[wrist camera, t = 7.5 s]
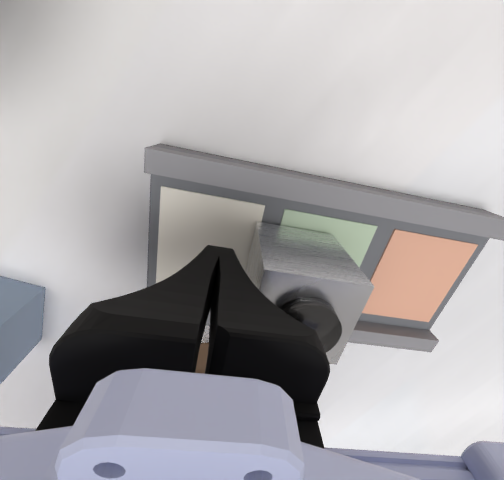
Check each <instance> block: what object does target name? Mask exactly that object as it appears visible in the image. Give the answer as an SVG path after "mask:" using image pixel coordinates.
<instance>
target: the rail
mask: <svg viewBox="0 0 504 480" xmlns="http://www.w3.org/2000/svg"><path fill="white" fill-rule="evenodd" d="M144 173H149V174H151V184H150V213H149V242H148V271H147V287H149V286H152V285H154V284H156V283H158V282H160V281H163V280H165V279H167V278H168V277H170V276H172V275H173V274H175V273H176V272H178V271H179V270H180V269H182V268H183V267H184V266H186V265H187V264H188V263H190V262H191V261H192V260H193V259H194V258H195V257H196V256H197V255H198V254H199V253H200V252H201V251H202V250H203V249H204V248H205V247H206V246H207V245H212V246H219V247H225V248H231V249H233V250H234V251H235V254H236V256H237V258H238V260H239V262H240V264H241V266H242V267H243V269H244V271H245V270H246V266H247V261H248V257H249V252H250V248H251V244H252V239H253V235H254V230H255V226H256V221H258V222H264V223H270V224H275V225H281V226H287V227H293V228H298V229H304V230H310V231H315V232H321V233H327V234H332V235H333V236H334V237H335V238H336V239H337V241H338V242H339V243H340V244H341V246H342V247H343V248H344V249H345V251H346V252H347V253H348V254H349V255H350V257H351V258H352V259H353V260H354V262H355V263H356V264H357V265H358V267H359V268H360V269H361V270H362V272H363V273H364V274H365V275H366V276H367V278H368V279H369V280H370V281H371V283H372V284H373V285H374V286H375V287H374V289H373V291H372V293H371V295H370V297H369V299H368V301H367V303H366V305H365V307H364V309H363V311H362V313H361V315H360V317H359V319H358V321H357V323H356V325H355V328H354V330H353V332H352V334H351V336H350V338H349V340H348V342H351V343H359V344H368V345H376V346H384V347H392V348H400V349H409V350H417V351H425V352H432V350H433V349H434V347H435V346H436V344H437V343H438V342H439V340H438V339H437V338H436V337H435V336H434V335H433V334H432V333H431V331H430V328H431V327H432V325H433V324H434V322H435V321H436V319H437V318H438V316H439V314H440V313H441V311H442V310H443V308H444V307H445V305H446V304H447V302H448V301H449V299H450V298H451V296H452V295H453V293H454V292H455V290H456V289H457V287H458V286H459V284H460V282H461V281H462V279H463V278H464V276H465V275H466V273H467V272H468V270H469V269H470V267H471V266H472V264H473V263H474V261H475V260H476V258H477V257H478V255H479V254H480V252H481V250H482V249H483V247H484V246H485V244H486V243H487V241H488V240H489V238H493V239H498V240H503V241H504V217H502V216H499V215H496V214H494V213H491V212H488V211H485V210H482V209H477V208H472V207H467V206H462V205H457V204H453V203H448V202H443V201H438V200H433V199H428V198H423V197H418V196H413V195H408V194H404V193H399V192H394V191H389V190H384V189H379V188H374V187H369V186H364V185H360V184H355V183H350V182H345V181H340V180H335V179H330V178H325V177H320V176H315V175H311V174H306V173H301V172H296V171H291V170H286V169H281V168H276V167H271V166H266V165H262V164H257V163H252V162H247V161H242V160H237V159H232V158H227V157H222V156H217V155H213V154H208V153H203V152H198V151H193V150H188V149H183V148H178V147H173V146H169V145H164V144H157V145H153V146H150V147H146V148H145V160H144ZM210 309H211V308H210ZM206 325H210V311H209V315H208V319H207V322H206Z"/></svg>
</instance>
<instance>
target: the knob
mask: <svg viewBox="0 0 504 480" xmlns="http://www.w3.org/2000/svg"><path fill="white" fill-rule="evenodd" d="M245 272H246V274H247V275H248V277H249V278H250V280H251V281H252V282H253V284H254V285H255V286H256V287H257V288H258V289H259V290H260V291H261V292H262V293H263V294H264V295H265V296H266V297H267V298H268V299H269V300H270V301H271V302H272V303H274V304H275V305H276V306H277V307H279V308H280V309H281V310H283V311H284V312H285V313H287V314H288V315H290V316H291V317H293V318H294V319H296V320H298V321H299V322H301V323H303V324H305V325H307V326H308V327H310V328H312V329H314V330H315V331H316V332H317V335H318V337H319V339H320V341H321V343H322V345H323V348H324V350H325V353H326V355H327V358H328V361H329V364H337V362H338V360H339V358H340V356H341V354H342V352H343V350H344V348H345V346H346V344H347V342H348V340H349V338H350V336H351V334H352V332H353V330H354V328H355V325H356V323H357V321H358V319H359V317H360V315H361V313H362V311H363V309H364V307H365V305H366V303H367V301H368V299H369V297H370V295H371V293H372V291H373V289H374V287H375V286H374V285H373V284H372V283H371V281H370V280H369V279H368V278H367V276H366V275H365V274H364V273H363V272H362V270H361V269H360V268H359V267H358V265H357V264H356V263H355V262H354V260H353V259H352V258H351V257H350V255H349V254H348V253H347V252H346V251H345V249H344V248H343V247H342V246H341V244H340V243H339V242H338V241H337V239H336V238H335V237H334V236H333V235H332V234H327V233H321V232H315V231H310V230H304V229H298V228H293V227H287V226H281V225H275V224H270V223H264V222H258V221H256V226H255V230H254V235H253V239H252V244H251V248H250V252H249V257H248V261H247V266H246V270H245Z"/></svg>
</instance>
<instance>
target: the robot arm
mask: <svg viewBox="0 0 504 480" xmlns="http://www.w3.org/2000/svg"><path fill="white" fill-rule="evenodd" d="M210 308H211V309H210ZM209 311H210V331H209V347H208V355H207V362H206V369H205V374H201V373H195V371H196V365H197V359H198V354H199V349H200V344H201V340H202V337H203V333H204V329H205V326H206V322H207V319H208V315H209ZM49 366H50V372H51V377H52V382H53V387H54V392H55V397H56V400H55V402H54V403H53V405H52V406H51V408H50V409H49V411H48V412H47V414H46V415H45V417H44V418H43V420H42V421H41V423H40V424H39V426H38V427H37V429H29V428H14V427H0V480H504V443H503V442H489V441H479V442H476V443H473V444H471V445H470V446H468V447H467V448H466V449H465V450H464V452H463V453H462V455H461V456H446V455H430V454H415V453H399V452H384V451H368V450H353V449H338V448H324V445H323V441H322V437H321V433H320V430H319V426H318V422H317V421H319V419H320V412H319V408H318V404H317V401H318V399H319V397H320V395H321V392H322V390H323V388H324V386H325V384H326V382H327V380H328V377H329V373H330V366H329V361H328V358H327V355H326V353H325V350H324V348H323V345H322V343H321V341H320V339H319V337H318V335H317V332H316V331H315V330H314V329H312V328H310V327H308V326H307V325H305V324H303V323H301V322H299V321H298V320H296V319H294V318H293V317H291V316H290V315H288V314H287V313H285V312H284V311H283V310H281V309H280V308H279V307H277V306H276V305H275V304H274V303H272V302H271V301H270V300H269V299H268V298H267V297H266V296H265V295H264V294H263V293H262V292H261V291H260V290H259V289H258V288H257V287H256V286H255V285H254V284H253V282H252V281H251V280H250V278H249V277H248V275H247V274H246V272H245V271H244V269H243V267H242V266H241V264H240V262H239V260H238V258H237V256H236V254H235V251H234V250H233V249H231V248H225V247H219V246H212V245H207V246H206V247H205V248H204V249H203V250H202V251H201V252H200V253H199V254H198V255H197V256H196V257H195V258H194V259H193V260H192V261H191V262H190V263H188V264H187V265H186V266H184V267H183V268H182V269H180V270H179V271H178V272H176V273H175V274H173V275H172V276H170V277H168V278H167V279H165V280H163V281H160V282H158V283H156V284H154V285H152V286H149V287H147V288H145V289H142V290H139V291H137V292H133V293H130V294H127V295H124V296H120V297H117V298H112V299H108V300H104V301H100V302H95V303H91V304H90V305H89V306H88V307H87V308H86V309H85V310H84V311H83V312H82V313H81V314H80V315H79V316H78V317H77V319H76V320H75V321H74V322H73V323H72V324H71V325H70V327H69V328H68V329H67V330H66V331H65V333H64V334H63V335H62V336H61V338H60V339H59V340H58V341H57V342H56V344H55V345H54V346H53V348H52V351H51V353H50V355H49Z"/></svg>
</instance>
